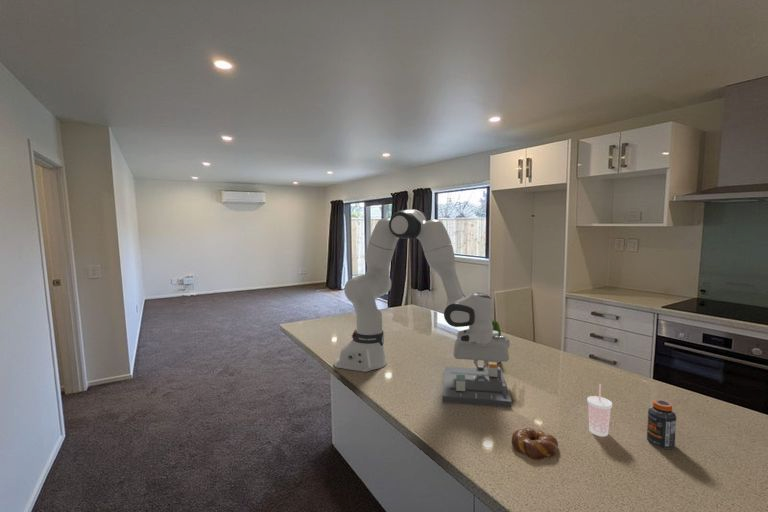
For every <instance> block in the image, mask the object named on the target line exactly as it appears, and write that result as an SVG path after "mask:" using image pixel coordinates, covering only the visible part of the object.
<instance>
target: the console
mask: <svg viewBox="0 0 768 512" xmlns="http://www.w3.org/2000/svg"><path fill="white" fill-rule="evenodd" d="M456 375H465V391H456ZM507 385H508V384H507V382H506V380H505V377H504V373H503V369H501V366H498V376H497V377H492V376H489V373H488V368H485V372H482V371H477V369H476V368H475V367H474V368H473V367H458V366H444V375H443V386H442V387H443V388H442V403H452V404H453V403H454V404H465V405H466V404H467V405H476V406H478V405H479V406H491V407H499V406H500V407H502V408H511V407H513V406H512V404H513V402H512V398H511V394H510V392H509V389H508V386H507Z"/></svg>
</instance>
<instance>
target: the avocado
mask: <svg viewBox="0 0 768 512" xmlns="http://www.w3.org/2000/svg"><path fill="white" fill-rule="evenodd" d="M492 325H493V330H494V331H498V332H499V335H498V336H499V337H502V333H501V329H500V325H499V323H498V321H497V320H492Z"/></svg>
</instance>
